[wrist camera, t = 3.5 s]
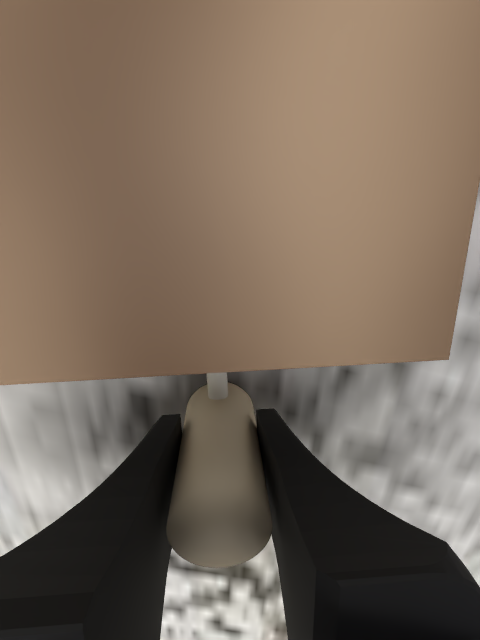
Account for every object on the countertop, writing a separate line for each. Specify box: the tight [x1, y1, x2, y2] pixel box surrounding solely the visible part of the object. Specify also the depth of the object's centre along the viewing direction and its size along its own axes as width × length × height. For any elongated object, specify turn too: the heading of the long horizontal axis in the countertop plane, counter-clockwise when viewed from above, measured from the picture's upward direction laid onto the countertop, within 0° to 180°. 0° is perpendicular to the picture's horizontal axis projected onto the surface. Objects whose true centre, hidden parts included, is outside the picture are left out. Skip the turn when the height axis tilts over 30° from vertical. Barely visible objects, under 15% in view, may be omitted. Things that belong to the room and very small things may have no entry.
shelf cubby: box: [0, 0, 480, 385], centre depth 7 cm, size 8×12×6 cm
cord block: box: [166, 372, 272, 568], centre depth 9 cm, size 4×16×5 cm, turn 2°
